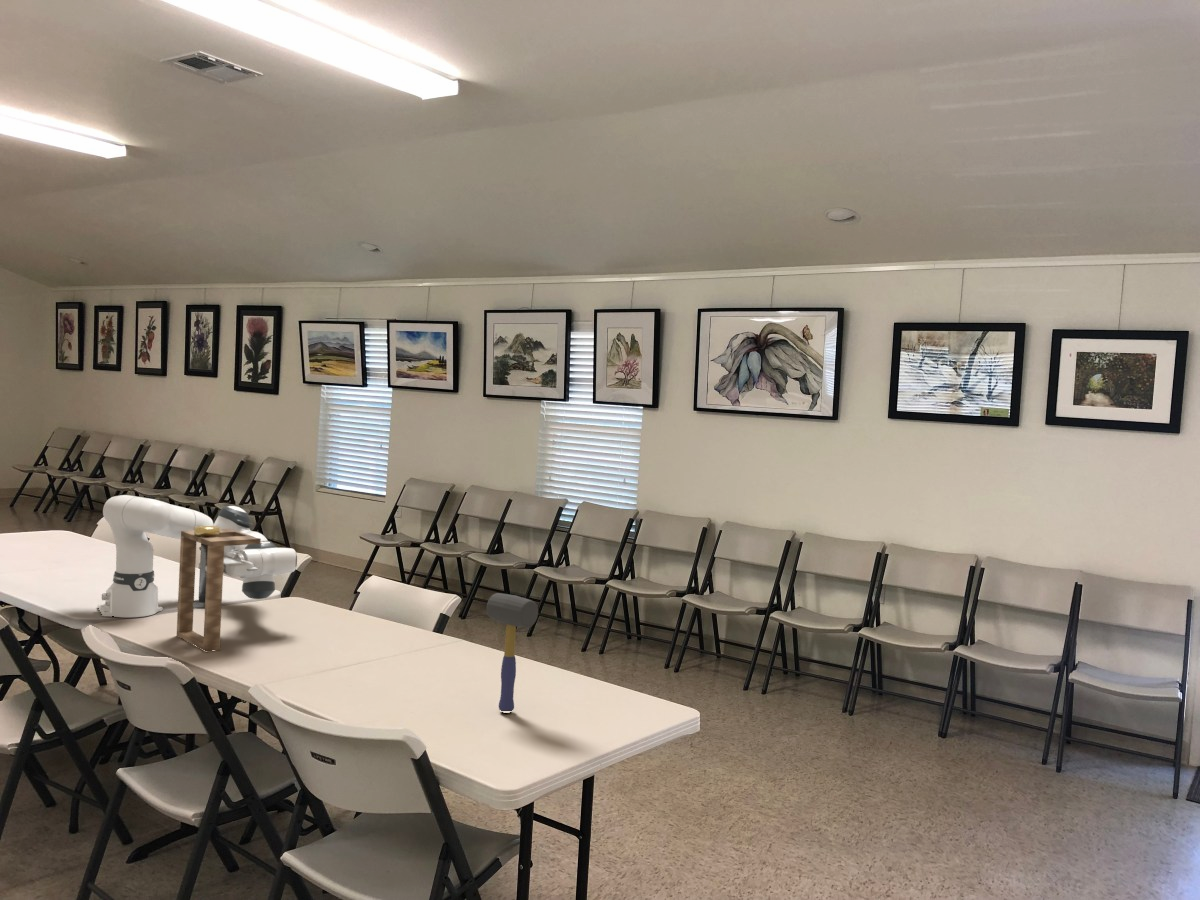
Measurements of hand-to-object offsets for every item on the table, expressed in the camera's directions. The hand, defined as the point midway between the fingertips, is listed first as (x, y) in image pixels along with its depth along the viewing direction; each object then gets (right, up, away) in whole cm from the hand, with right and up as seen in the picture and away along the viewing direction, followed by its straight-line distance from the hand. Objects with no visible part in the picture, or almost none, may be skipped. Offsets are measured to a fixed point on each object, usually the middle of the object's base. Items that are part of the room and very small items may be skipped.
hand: (202, 567), depth 283 cm
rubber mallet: (+96, -32, -44) cm, 110 cm away
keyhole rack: (+2, -23, +4) cm, 23 cm away
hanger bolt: (0, -12, +1) cm, 12 cm away
